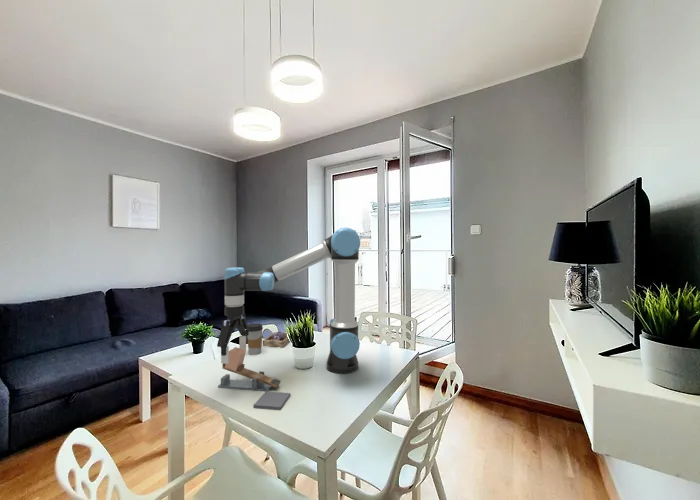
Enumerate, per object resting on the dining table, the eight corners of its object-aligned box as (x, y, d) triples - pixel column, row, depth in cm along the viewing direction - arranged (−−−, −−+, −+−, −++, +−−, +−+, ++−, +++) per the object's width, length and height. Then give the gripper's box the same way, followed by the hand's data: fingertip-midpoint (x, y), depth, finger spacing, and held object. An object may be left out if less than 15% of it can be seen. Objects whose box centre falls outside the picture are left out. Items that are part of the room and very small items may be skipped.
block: (242, 366, 123) (246, 350, 123) (235, 371, 118) (239, 355, 118) (231, 362, 124) (235, 347, 124) (224, 367, 119) (228, 351, 119)
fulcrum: (275, 383, 122) (275, 372, 122) (268, 392, 115) (268, 379, 115) (226, 380, 126) (226, 369, 125) (217, 388, 119) (216, 376, 119)
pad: (290, 395, 112) (290, 393, 112) (280, 410, 102) (280, 407, 102) (265, 393, 114) (265, 391, 114) (253, 407, 104) (253, 405, 104)
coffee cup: (258, 356, 153) (257, 327, 153) (243, 355, 155) (243, 326, 155) (265, 350, 161) (265, 323, 161) (251, 349, 163) (251, 322, 163)
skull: (278, 347, 167) (278, 336, 167) (265, 346, 169) (265, 336, 169) (286, 340, 179) (286, 330, 179) (274, 340, 180) (274, 330, 180)
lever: (280, 382, 121) (282, 376, 121) (275, 388, 116) (277, 382, 116) (227, 363, 124) (229, 358, 124) (220, 369, 119) (222, 362, 119)
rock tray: (293, 338, 182) (293, 333, 182) (283, 347, 166) (283, 341, 166) (274, 337, 184) (274, 332, 184) (262, 346, 168) (262, 340, 168)
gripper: (241, 299, 134) (241, 346, 134) (206, 311, 109) (206, 368, 109) (257, 300, 133) (256, 347, 133) (225, 312, 108) (225, 369, 108)
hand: (234, 356), depth 121 cm, fingers open, 13 cm apart
